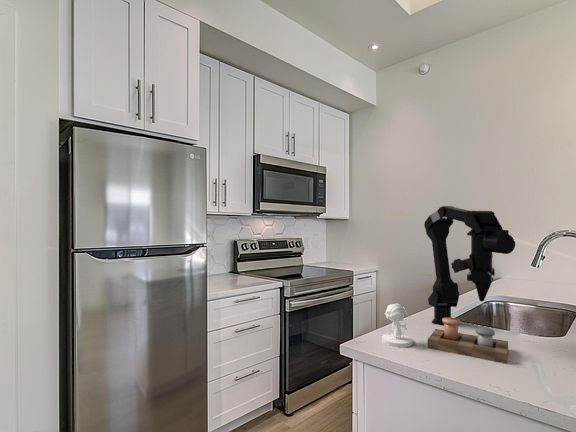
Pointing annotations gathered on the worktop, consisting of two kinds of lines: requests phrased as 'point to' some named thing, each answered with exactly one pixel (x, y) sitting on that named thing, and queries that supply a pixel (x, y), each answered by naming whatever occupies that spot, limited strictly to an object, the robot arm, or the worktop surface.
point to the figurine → (396, 327)
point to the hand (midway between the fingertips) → (481, 301)
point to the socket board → (469, 346)
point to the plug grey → (485, 337)
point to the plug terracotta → (450, 328)
